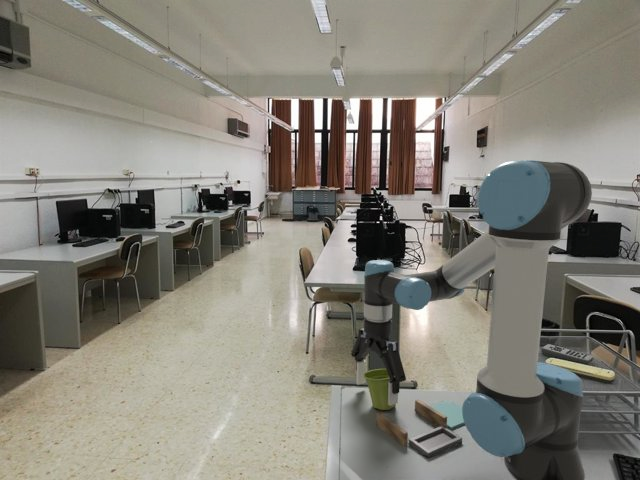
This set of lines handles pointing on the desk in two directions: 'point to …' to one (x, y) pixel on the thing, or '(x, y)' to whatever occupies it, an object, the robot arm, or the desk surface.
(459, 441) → the tray
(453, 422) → the pad
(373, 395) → the plant pot
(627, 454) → the desk surface
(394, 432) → the channel
